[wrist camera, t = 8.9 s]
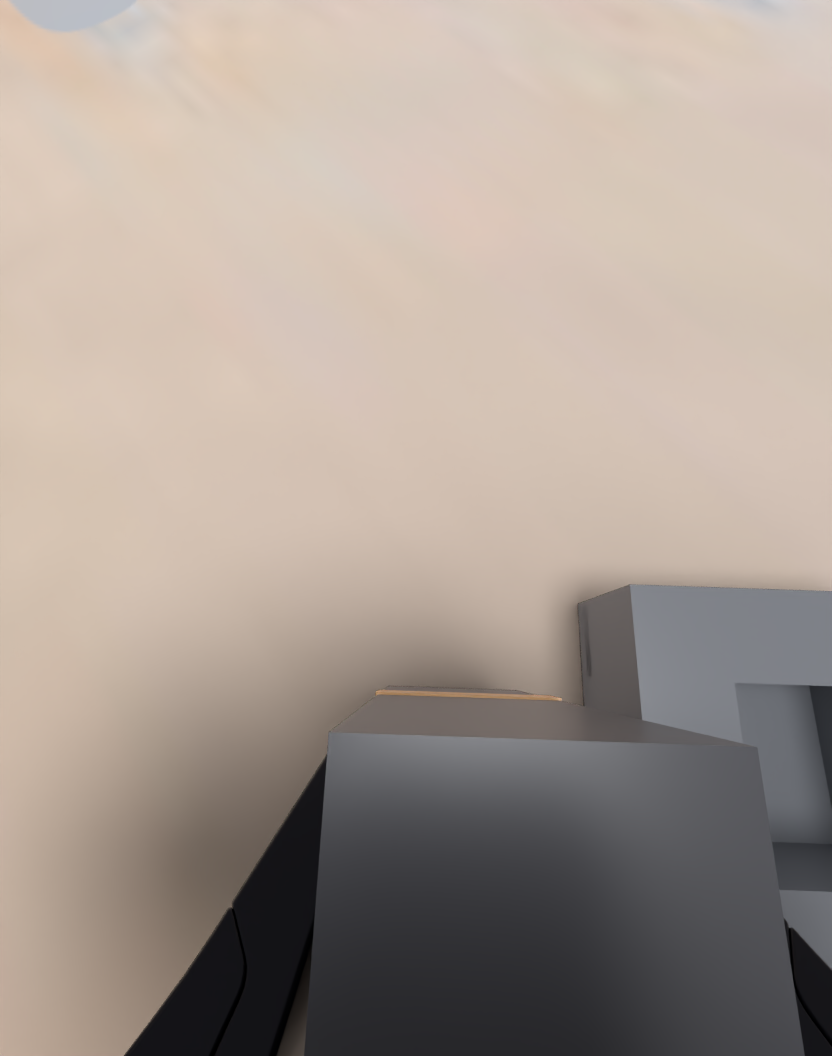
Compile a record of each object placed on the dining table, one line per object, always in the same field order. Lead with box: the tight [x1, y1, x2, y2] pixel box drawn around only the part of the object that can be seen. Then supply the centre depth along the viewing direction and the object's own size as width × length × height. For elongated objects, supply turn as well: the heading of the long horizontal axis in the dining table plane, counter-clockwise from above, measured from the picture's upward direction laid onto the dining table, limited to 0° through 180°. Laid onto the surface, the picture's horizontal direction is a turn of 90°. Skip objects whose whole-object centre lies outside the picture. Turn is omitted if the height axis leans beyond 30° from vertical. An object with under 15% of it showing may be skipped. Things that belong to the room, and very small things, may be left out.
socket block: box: [578, 585, 832, 969], centre depth 14 cm, size 10×10×4 cm
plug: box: [304, 686, 805, 1056], centre depth 9 cm, size 4×4×11 cm
